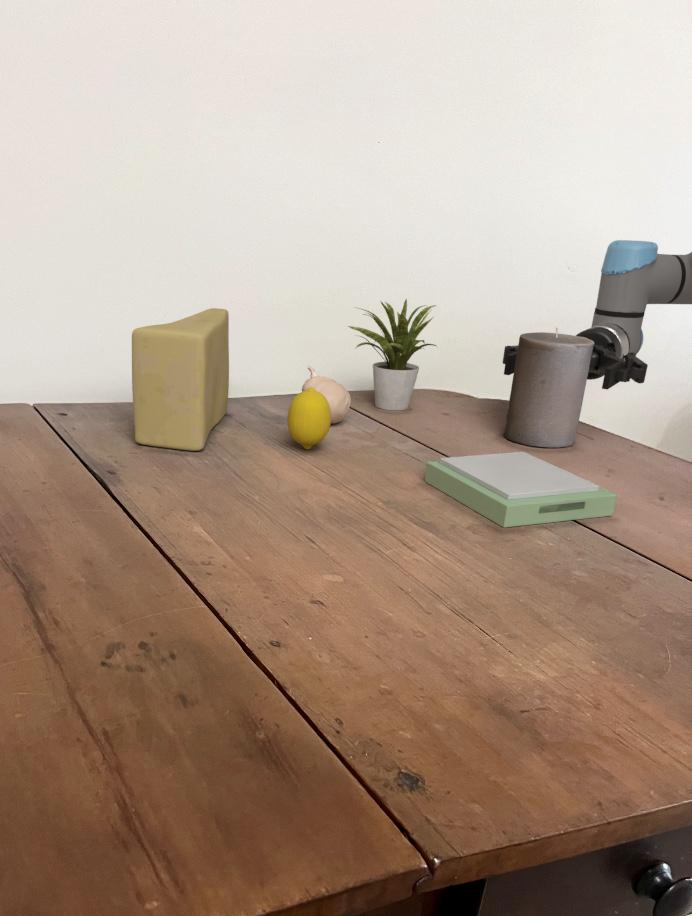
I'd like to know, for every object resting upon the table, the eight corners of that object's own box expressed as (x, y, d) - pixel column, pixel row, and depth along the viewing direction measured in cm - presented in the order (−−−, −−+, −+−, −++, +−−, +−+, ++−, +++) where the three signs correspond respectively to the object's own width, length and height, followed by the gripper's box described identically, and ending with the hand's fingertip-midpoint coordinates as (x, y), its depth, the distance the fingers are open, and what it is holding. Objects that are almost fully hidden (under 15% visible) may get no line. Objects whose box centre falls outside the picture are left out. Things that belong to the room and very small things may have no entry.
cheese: (191, 408, 137) (192, 303, 131) (253, 415, 135) (257, 309, 128) (130, 445, 118) (128, 325, 112) (201, 453, 116) (203, 331, 109)
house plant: (383, 390, 153) (393, 288, 146) (455, 405, 144) (470, 297, 137) (330, 403, 143) (338, 293, 136) (404, 420, 135) (416, 304, 128)
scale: (612, 515, 99) (618, 489, 98) (503, 528, 95) (508, 500, 93) (523, 472, 113) (527, 448, 112) (424, 481, 108) (427, 456, 107)
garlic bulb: (327, 415, 136) (331, 360, 133) (356, 425, 131) (361, 368, 128) (292, 420, 132) (295, 364, 129) (321, 431, 128) (325, 373, 124)
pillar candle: (488, 434, 129) (505, 324, 123) (536, 427, 134) (554, 320, 127) (543, 452, 122) (563, 335, 115) (591, 443, 126) (613, 331, 120)
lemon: (304, 457, 116) (308, 394, 112) (277, 447, 120) (280, 385, 116) (337, 451, 119) (342, 389, 115) (309, 441, 123) (313, 381, 119)
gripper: (676, 387, 137) (644, 413, 121) (514, 365, 150) (465, 386, 134) (688, 336, 134) (657, 355, 118) (521, 317, 147) (473, 333, 130)
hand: (555, 371), depth 126 cm, fingers open, 13 cm apart
